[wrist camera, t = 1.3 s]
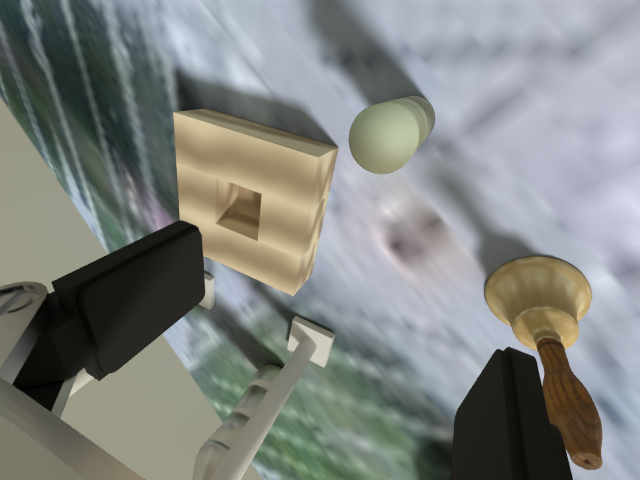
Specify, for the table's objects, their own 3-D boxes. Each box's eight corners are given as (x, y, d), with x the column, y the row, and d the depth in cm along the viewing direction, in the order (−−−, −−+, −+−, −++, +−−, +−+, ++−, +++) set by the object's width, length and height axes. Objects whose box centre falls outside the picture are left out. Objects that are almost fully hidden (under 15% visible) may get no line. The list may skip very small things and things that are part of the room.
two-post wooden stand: (180, 218, 45) (-362, 474, 16) (348, 289, 38) (-54, 972, 9) (184, 291, 52) (-181, 561, 23) (326, 362, 45) (65, 871, 16)
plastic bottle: (255, 367, 53) (158, 495, 37) (275, 353, 49) (177, 489, 33) (281, 393, 53) (197, 533, 37) (304, 381, 49) (221, 532, 33)
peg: (395, 90, 27) (357, 95, 18) (442, 101, 26) (426, 113, 17) (382, 137, 29) (342, 163, 20) (425, 149, 28) (403, 182, 19)
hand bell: (476, 263, 30) (479, 401, 17) (584, 248, 26) (696, 414, 13) (494, 332, 33) (510, 499, 20) (596, 328, 28) (702, 537, 15)
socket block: (208, 108, 35) (173, 112, 31) (338, 147, 31) (318, 157, 27) (208, 230, 43) (181, 245, 39) (311, 273, 39) (293, 296, 35)
